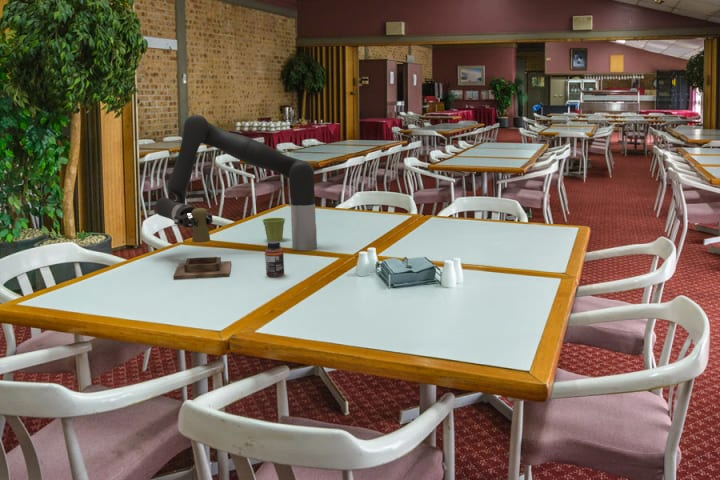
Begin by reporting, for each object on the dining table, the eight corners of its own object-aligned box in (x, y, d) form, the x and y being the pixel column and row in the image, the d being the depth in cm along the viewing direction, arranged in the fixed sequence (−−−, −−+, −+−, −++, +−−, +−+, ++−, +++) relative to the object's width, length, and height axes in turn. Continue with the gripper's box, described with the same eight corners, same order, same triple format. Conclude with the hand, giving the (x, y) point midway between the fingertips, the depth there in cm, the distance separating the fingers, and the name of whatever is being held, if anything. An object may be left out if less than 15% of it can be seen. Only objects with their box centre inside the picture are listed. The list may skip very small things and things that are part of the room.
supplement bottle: (274, 272, 252) (273, 239, 250) (288, 274, 249) (286, 241, 246) (262, 276, 247) (260, 242, 245) (276, 278, 244) (274, 244, 242)
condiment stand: (231, 264, 264) (230, 254, 264) (229, 276, 247) (228, 265, 246) (179, 266, 262) (178, 256, 261) (173, 279, 245) (172, 268, 244)
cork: (206, 242, 249) (204, 210, 247) (189, 242, 250) (187, 209, 248) (213, 239, 255) (211, 207, 253) (196, 238, 256) (194, 206, 254)
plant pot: (258, 242, 302) (257, 220, 300) (270, 237, 310) (269, 217, 309) (279, 243, 298) (278, 222, 297) (290, 239, 307) (289, 218, 305)
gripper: (164, 206, 259) (181, 213, 244) (204, 202, 266) (222, 209, 252) (166, 228, 260) (183, 236, 246) (205, 223, 268) (224, 231, 253)
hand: (203, 222), depth 249 cm, fingers closed on cork, 4 cm apart
